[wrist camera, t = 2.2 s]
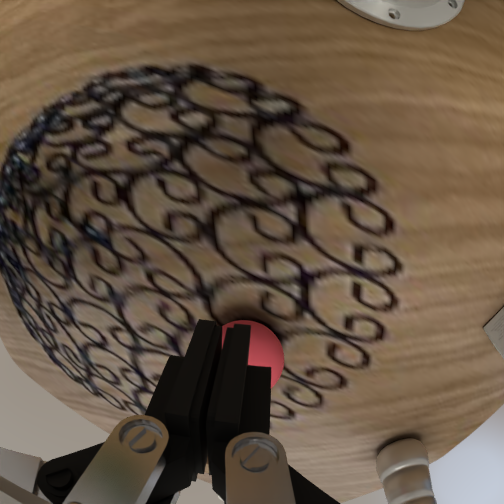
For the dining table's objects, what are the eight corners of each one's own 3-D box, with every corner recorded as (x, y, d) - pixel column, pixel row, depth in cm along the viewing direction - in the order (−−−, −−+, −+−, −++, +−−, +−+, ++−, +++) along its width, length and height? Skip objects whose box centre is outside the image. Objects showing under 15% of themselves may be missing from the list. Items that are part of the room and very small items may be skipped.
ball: (211, 301, 25) (194, 349, 19) (288, 308, 25) (290, 359, 19) (211, 358, 27) (197, 408, 22) (279, 365, 27) (278, 417, 21)
